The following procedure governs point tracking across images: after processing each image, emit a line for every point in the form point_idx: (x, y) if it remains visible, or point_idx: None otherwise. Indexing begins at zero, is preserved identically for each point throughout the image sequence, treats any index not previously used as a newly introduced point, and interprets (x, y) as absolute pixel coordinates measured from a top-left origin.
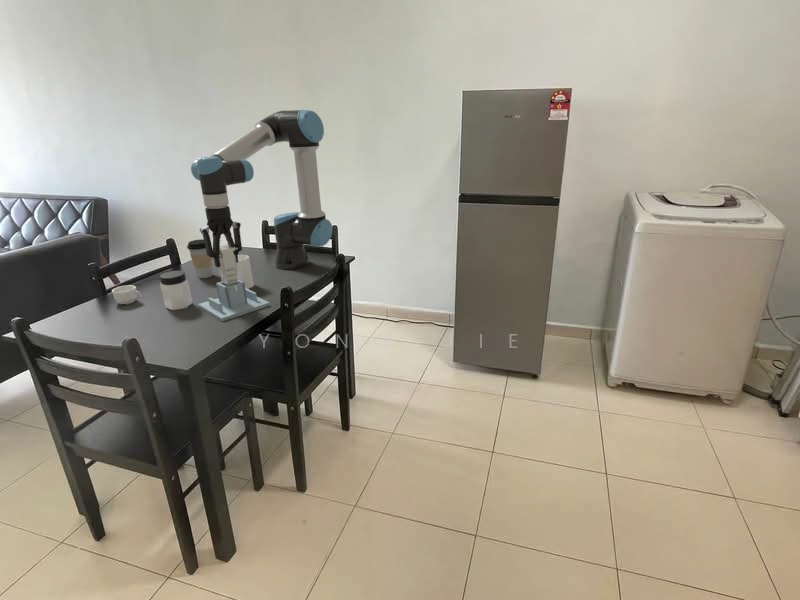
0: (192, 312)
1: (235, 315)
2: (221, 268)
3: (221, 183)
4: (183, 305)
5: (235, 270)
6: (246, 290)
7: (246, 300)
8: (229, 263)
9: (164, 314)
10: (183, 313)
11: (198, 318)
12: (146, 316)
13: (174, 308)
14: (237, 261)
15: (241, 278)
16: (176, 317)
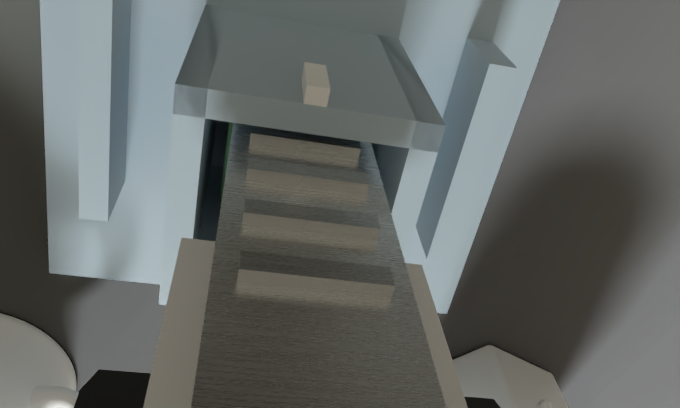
0: (524, 258)
1: None
2: (449, 355)
3: None
4: (505, 363)
5: (230, 248)
6: (110, 145)
7: (210, 13)
8: (321, 364)
9: (614, 357)
10: (560, 288)
11: (593, 136)
12: (669, 402)
13: (545, 374)
14: (103, 383)
15: None
16: (628, 269)
